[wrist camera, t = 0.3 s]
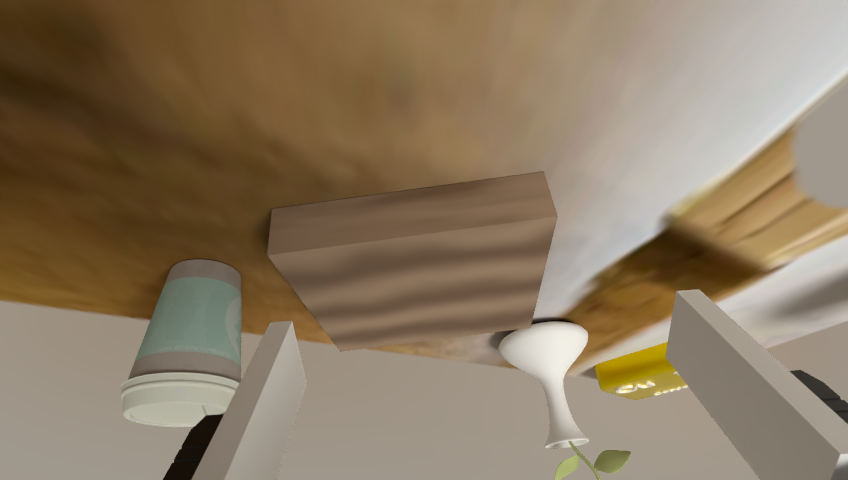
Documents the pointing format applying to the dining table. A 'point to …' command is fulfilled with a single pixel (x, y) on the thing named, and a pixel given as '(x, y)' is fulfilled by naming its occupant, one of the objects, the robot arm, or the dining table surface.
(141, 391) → the coffee cup
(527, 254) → the walnut base
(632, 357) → the element tile
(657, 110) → the dining table surface
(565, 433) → the flower in vase
